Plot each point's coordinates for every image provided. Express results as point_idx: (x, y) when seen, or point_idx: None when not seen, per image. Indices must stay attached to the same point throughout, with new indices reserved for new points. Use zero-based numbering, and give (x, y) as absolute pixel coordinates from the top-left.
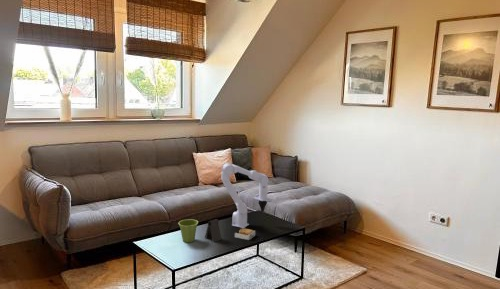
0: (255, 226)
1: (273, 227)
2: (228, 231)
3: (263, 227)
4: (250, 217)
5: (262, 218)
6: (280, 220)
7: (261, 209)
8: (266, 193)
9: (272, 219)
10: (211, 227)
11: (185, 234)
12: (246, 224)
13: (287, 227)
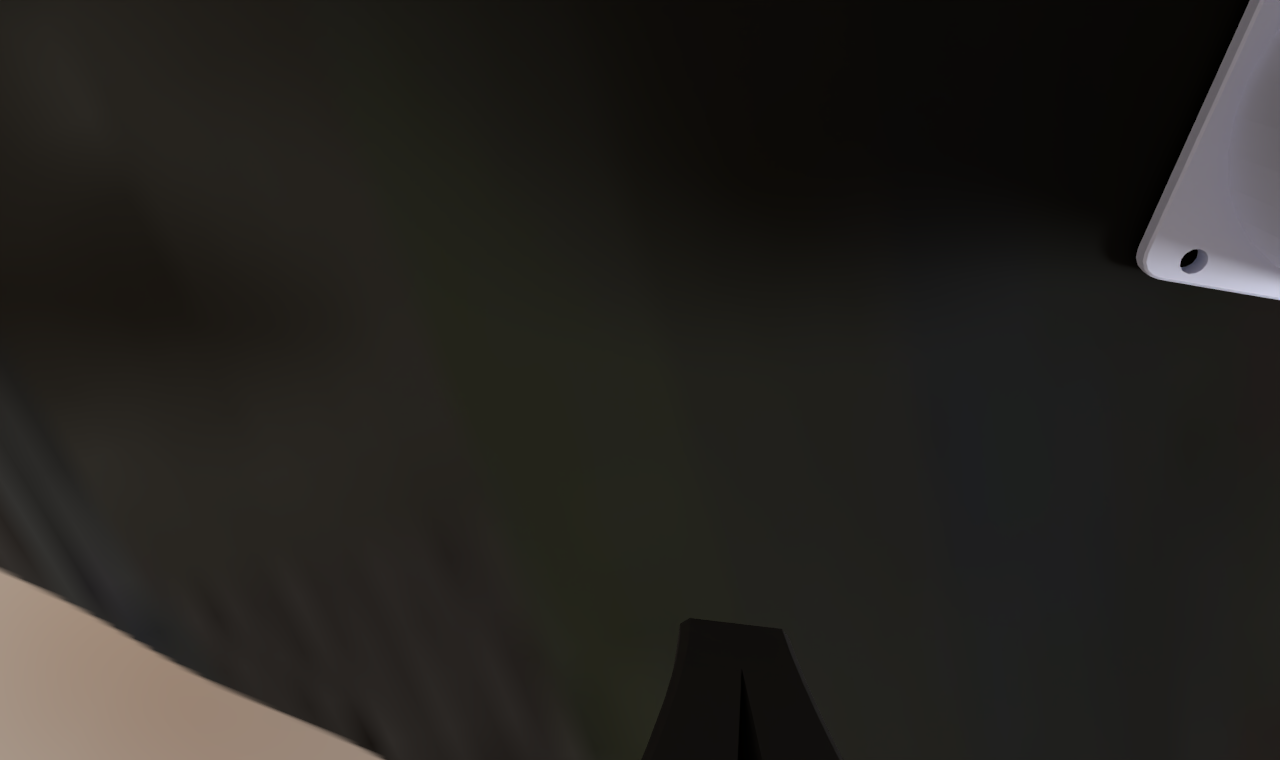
0: (900, 176)
1: (357, 267)
2: None
3: (633, 172)
4: (1111, 745)
5: None
6: (383, 728)
7: (786, 721)
8: None
9: (568, 741)
10: None
11: None
12: (1260, 104)
13: (35, 379)
